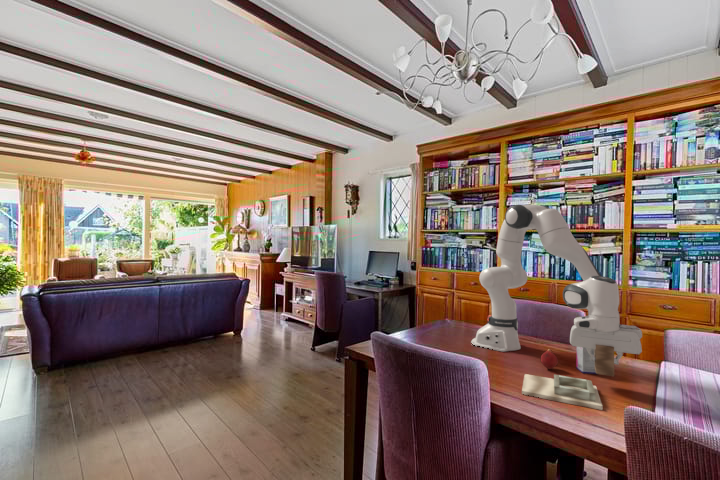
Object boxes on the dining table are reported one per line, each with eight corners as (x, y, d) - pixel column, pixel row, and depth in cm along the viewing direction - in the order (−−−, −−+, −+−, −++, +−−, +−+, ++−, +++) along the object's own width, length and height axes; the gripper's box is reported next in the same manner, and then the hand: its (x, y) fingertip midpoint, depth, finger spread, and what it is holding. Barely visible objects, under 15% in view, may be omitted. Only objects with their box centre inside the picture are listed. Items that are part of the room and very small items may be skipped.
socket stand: (521, 394, 111) (521, 383, 111) (524, 377, 124) (524, 367, 124) (602, 410, 100) (602, 397, 100) (596, 389, 113) (595, 378, 113)
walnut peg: (596, 373, 115) (596, 345, 115) (594, 368, 119) (594, 341, 119) (614, 376, 112) (613, 347, 112) (611, 371, 117) (611, 343, 117)
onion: (551, 373, 128) (551, 352, 128) (537, 368, 133) (537, 348, 133) (560, 370, 130) (560, 350, 131) (546, 365, 136) (546, 346, 136)
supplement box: (599, 374, 126) (598, 344, 126) (582, 373, 127) (581, 343, 127) (592, 368, 132) (591, 340, 132) (575, 367, 133) (575, 339, 133)
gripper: (639, 324, 113) (640, 364, 113) (569, 317, 123) (569, 354, 123) (644, 328, 108) (644, 370, 108) (570, 321, 118) (570, 360, 118)
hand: (604, 362), depth 116 cm, fingers closed on walnut peg, 5 cm apart
